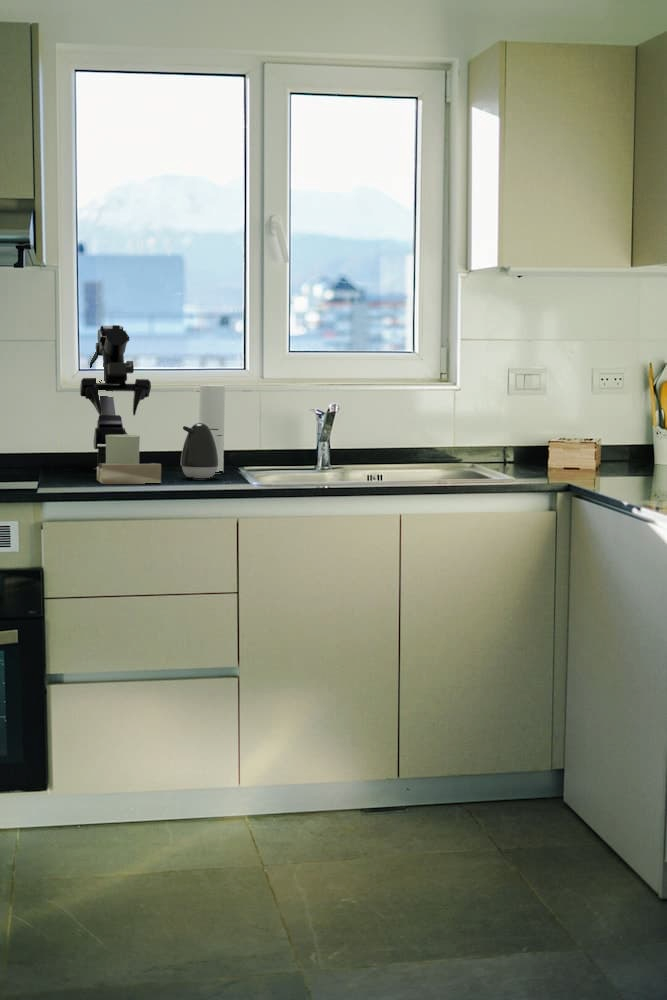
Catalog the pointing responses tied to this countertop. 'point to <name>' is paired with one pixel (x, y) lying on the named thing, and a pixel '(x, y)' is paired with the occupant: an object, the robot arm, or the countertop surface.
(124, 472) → the frame
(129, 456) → the can
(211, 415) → the cylindrical container
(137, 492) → the countertop surface
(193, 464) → the pump dispenser
